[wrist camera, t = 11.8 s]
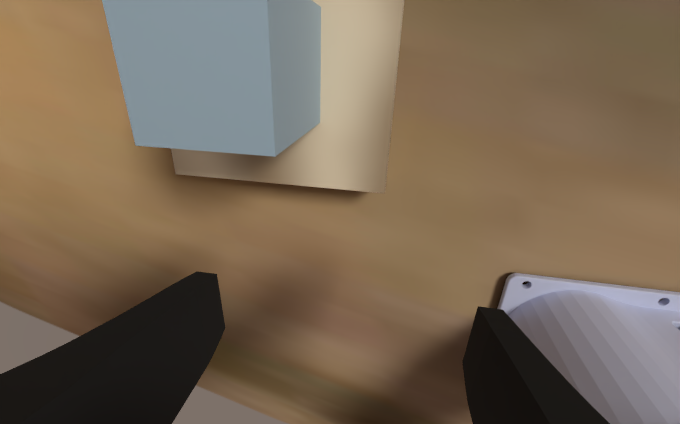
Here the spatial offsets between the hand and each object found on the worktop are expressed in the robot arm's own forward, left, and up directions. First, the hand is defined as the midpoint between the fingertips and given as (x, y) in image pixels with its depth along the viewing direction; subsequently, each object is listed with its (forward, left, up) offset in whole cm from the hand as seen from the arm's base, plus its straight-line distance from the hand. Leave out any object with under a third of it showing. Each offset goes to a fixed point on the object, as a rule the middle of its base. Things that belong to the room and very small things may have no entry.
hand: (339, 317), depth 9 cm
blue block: (+5, -6, -8) cm, 11 cm away
